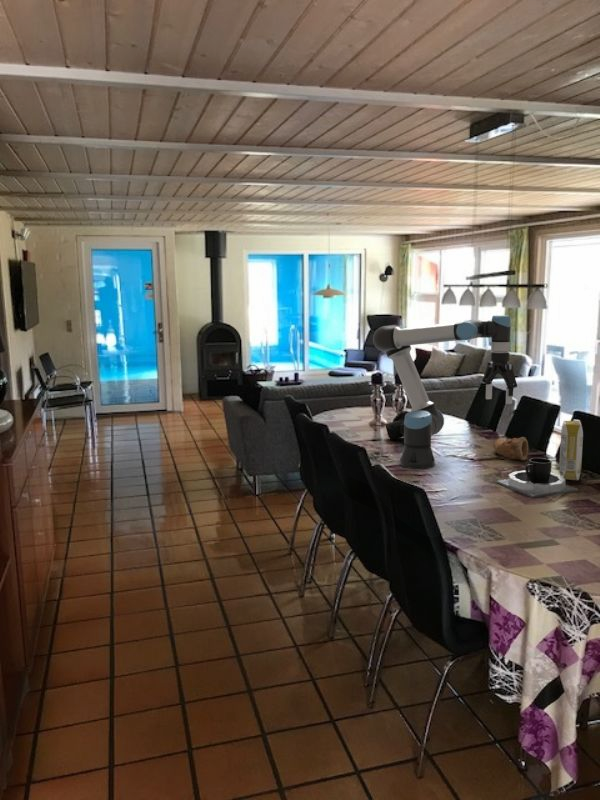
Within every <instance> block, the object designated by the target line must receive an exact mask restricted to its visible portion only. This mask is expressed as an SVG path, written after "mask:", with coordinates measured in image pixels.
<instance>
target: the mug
mask: <svg viewBox="0 0 600 800" xmlns="http://www.w3.org/2000/svg"><path fill="white" fill-rule="evenodd" d="M552 463H553V461H552V460H550V459H548V458H545V457H544V458H543V457H532V458H529V459H528V464H526V465H525V466H524V470H525V471H526V474H527V476H528V478H529V480H530V482H531V483H546V484H547V482H548V480H549V477H550V473H552V465H553V464H552Z"/></svg>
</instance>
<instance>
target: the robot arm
mask: <svg viewBox="0 0 600 800" xmlns="http://www.w3.org/2000/svg"><path fill="white" fill-rule="evenodd" d="M511 325H512V323H511V316H510V315H505V314H501V315H495V314H494V315H492V316H491V319H465V320H464V321H459V322H450V323H441V324H431V325H423V326H415V327H412V326H411V327H404V326H402V325H400V324H391V325H390V324H389V325H383V326H380V327H379V328H377V329H376V330H375V331H374V334H373V336H372V342H373V345H374V346H375V347H374V348H376V349H377V350H378V351H380V352H385V354H386V357H387V358H388V359H390V360H391V361H392V362H393V365H394V367H395V369H396V372H397V374H398V377H399V379H400V382H401V384H402V387H403V389H404V392H405V394H406V396H407V398H408V402H409V403H410V404H409V405H411V410H410V411H408V413H407V414H406V415H405V420H404V437H403V438H404V439H403V444H404V445H403V449H402V453H401V456H400V459H399V460H400V461H399V465H400V466H401V467H403V468H407V469H415V470H416V469H417V470H419V469H420V470H423V469H431V468H433V467H435V466H436V462H435V461H436V460H435V457H434V453H433V451H432V437H433V436H434V435H437V434H438V433H439V432H441V430H442V429H443V427H444V425H445V417H444V415H443V413H442V411H440V410H439V409H437V406H436V404H435V402H434V401H431V400H430V398H429V396H428V393H427V391H426V389H425V387H424V384H423V382H422V380H421V376H420V374H419V372H418V370H417V367H416V365H415V362H414V361H413V357H412V356H411V350H412V347H411V346H414V345H415V346H416V345H425V344H436V343H444V342H445V343H446V342H454V341H470V340H473V339H477V338H479V339H480V338H482V339H483V338H490V340H491V342H490V343H491V344H490V346H491V348H490V352H491V353H490V361H488V362H487V367H486V369H485V372H484V375H483V378H482V380H481V381H482V383H484V384H485V400H492V399H493V380H495V378H496V376H497V375H501V377H502V379H503V380H504V383H505V385H506V390H505V404H506V405H511V404H513V396H514V389H515V388H518V383H517V379H516V376H515V373H514V366H513V364H508V362H510V348H511V346H510V345H511V343H510V342H511V327H512V326H511Z"/></svg>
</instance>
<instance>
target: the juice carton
mask: <svg viewBox="0 0 600 800" xmlns="http://www.w3.org/2000/svg"><path fill="white" fill-rule="evenodd" d="M583 440H584V430H583V426H582V421H581V420H580V419H572V420H563V422H562V426H561V430H560V447H559V473H560V474H559V475H560V476H562V477H563V478H564V479H565V481H567V480H570V481H579V479H580V475H581V474H582V473H581V472H582V462H583V460H582V459H583V458H582V457H583V442H584V441H583Z"/></svg>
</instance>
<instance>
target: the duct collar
mask: <svg viewBox="0 0 600 800" xmlns="http://www.w3.org/2000/svg"><path fill="white" fill-rule="evenodd" d="M498 483H499V485H501V486H504V487H505V486H506V487H505V488H508V489H510V490H513V491H516V492H517V491H518V493H520V494H523V495H525V496H528V497H530V498H533V499H535V498H540V497H541V498H542V497H548V496H554V495H562V494H567V493H574V492H578V491H579V489H578V488H576V487H573V486H570V485H568V484H566V479H564V478H563V477H562V476H561V474H558V473H554V472H551V473H550V477H549V480H548V482H547V484H546V483H531V482H530V480H529V478H528V476H527V474H526V471H525V469H523V470H518V471H513V472H511V473H509V474H508V479H507V478H506V479H499V480H496V484H498Z"/></svg>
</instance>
